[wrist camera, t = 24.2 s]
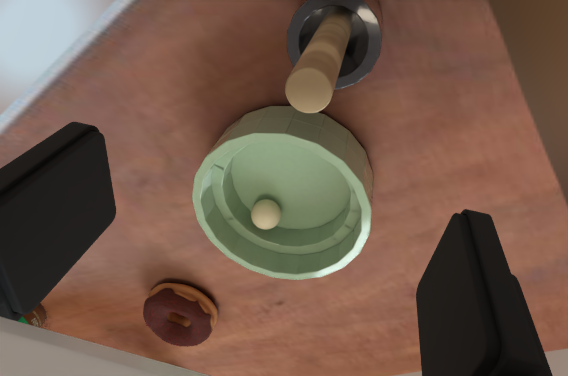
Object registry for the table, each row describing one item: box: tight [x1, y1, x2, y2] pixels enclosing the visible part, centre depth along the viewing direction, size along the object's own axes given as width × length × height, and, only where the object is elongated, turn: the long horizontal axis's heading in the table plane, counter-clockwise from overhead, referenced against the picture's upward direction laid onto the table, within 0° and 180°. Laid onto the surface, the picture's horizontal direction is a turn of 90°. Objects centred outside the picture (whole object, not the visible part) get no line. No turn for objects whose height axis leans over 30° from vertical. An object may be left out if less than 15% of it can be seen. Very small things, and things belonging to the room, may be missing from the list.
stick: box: [285, 6, 355, 113], centre depth 23 cm, size 2×2×16 cm
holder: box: [287, 0, 382, 89], centre depth 28 cm, size 6×6×6 cm
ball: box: [251, 199, 281, 229], centre depth 39 cm, size 3×3×3 cm
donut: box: [143, 283, 218, 347], centre depth 52 cm, size 10×10×4 cm
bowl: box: [192, 106, 373, 280], centre depth 36 cm, size 16×16×6 cm
